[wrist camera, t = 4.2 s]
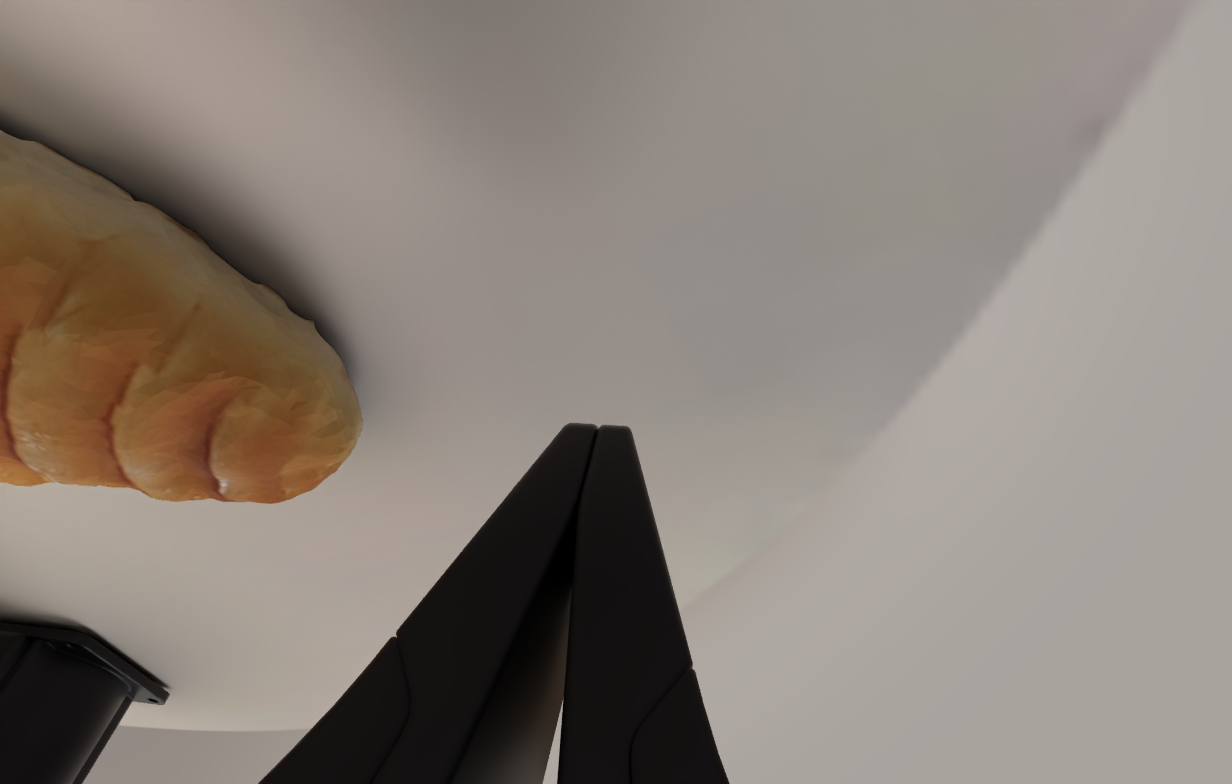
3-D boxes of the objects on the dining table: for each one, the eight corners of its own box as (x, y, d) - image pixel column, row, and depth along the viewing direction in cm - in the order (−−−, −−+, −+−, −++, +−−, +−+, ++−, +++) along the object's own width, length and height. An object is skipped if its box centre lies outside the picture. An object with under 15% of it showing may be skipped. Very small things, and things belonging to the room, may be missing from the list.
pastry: (418, 288, 11) (320, 467, 9) (350, 480, 16) (272, 634, 14) (-242, -12, 9) (-635, 110, 7) (-99, 312, 14) (-296, 459, 11)
